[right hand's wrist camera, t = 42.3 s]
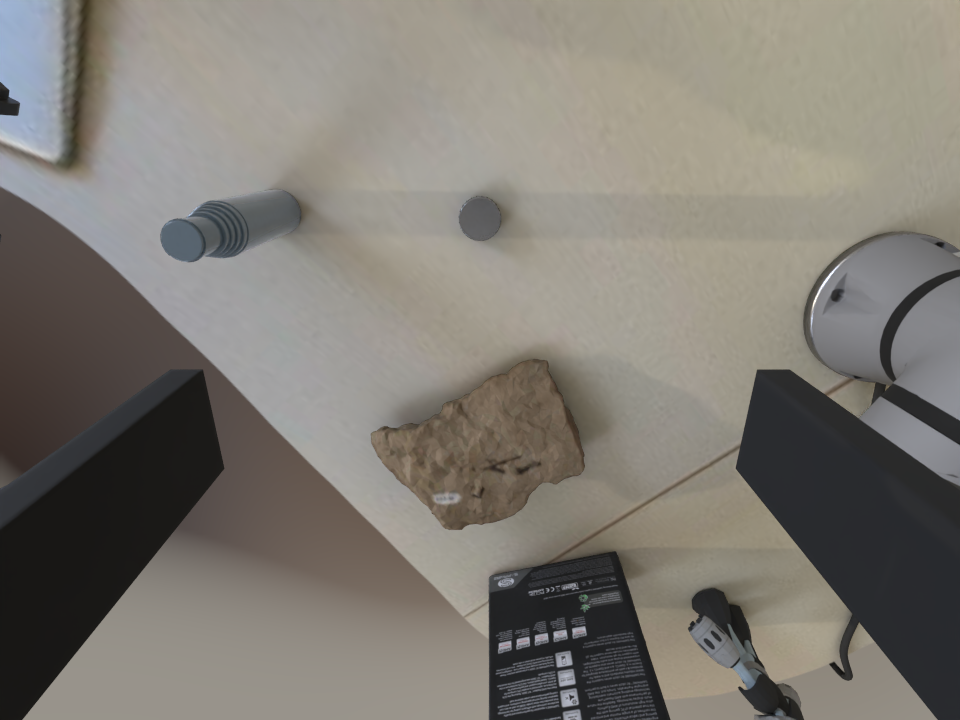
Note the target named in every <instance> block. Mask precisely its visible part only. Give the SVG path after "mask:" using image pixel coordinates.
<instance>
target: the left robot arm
mask: <svg viewBox="0 0 960 720" xmlns="http://www.w3.org/2000/svg"><path fill="white" fill-rule="evenodd" d="M19 106H20V103H19V102H18V101H16V100H14V99H12V98H10V97H9V90H8V89H7V88H6V87H5V86H4V85H3V84H2V83H1V82H0V115H14V116H18V113H19ZM0 240H1V234H0Z"/></svg>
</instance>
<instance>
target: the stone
mask: <svg viewBox="0 0 960 720" xmlns="http://www.w3.org/2000/svg"><path fill="white" fill-rule="evenodd" d="M548 367H549V365H548V362H547V361H545V360H538V359H533V360H532V361H531V360H527V361H525V362H521V363H519V364H517V365H516V366H515V367H513V368H512V369H511V370H510V371H509V372H508V373H507V374H500V375H497V376H493V377H491V378H489V379H488V380H486V381H485V382H484V383H483V384H482V386H480V387H478V388H477V389H475V390H474V391H472V392H471V394H466V395H465V396H463V397H462V398H460V399H456V400H454V401H450V402H446V403H445V404H444V405H443V409H442V411H441V412H440V414H436V415H434V416H433V417H432V418H430V419H428V420H425V421H424V422H422V423H421V424H420V425H417V424H412V423H410V424H405V425H402V426H400V427H398V428H390V427H388V426H384V427H381V428H380V429H378V430H377V431H374V432H373V433H371V442H372V445H373V447H374V449H375V451H376V453H377V455H378V457H379V458H380V459H381V460H382V462H383V464H384V465H385V466H386V467H387V468H388V469H389V470H390V471H391V472H392V473H393V474H394V475H395V476H396V478H397V479H398V480H399V481H400V482H401V483H402V484H404V485H405V486H407V487H408V488H409V489H410V490H411V491H412V492H413V493H415V495H416V496H417V497H418V498H419V499H420V500H421V501H422V502H423V503H424V504H425V505H427V506H428V507H429V509H430V510H431V511H432V514H434V515H435V517H436V518H437V519H438V520H439V522H440V523H441V525H442V526H443V527H444V528H445V529H449V530H462V529H463V528H464V527H465V526H467V525H469V524H480V525H482V524H484V523H493V522H496V521H500V520H502V519H505V518H508V517H510V516H512V515H514V514H515V513H516V512H518V511H519V510H521V509H522V508H523V507H524V506H525V504H526V503H527V500H528V497H529V495H530V494H531V493H532V491H534V490H535V489H536V488H537V487H538V486H539V485H540V484H541V483H543V482H549V483H553V484H557V483H559V482H560V481H562V480H563V479H565V478H569V477H571V476H578V475H580V474H581V473H582V472H583V470H584V467H585V465H584V458H583V457H584V452H583V449H582V446H581V443H580V438H579V432H578V429H577V427H576V424H575V422H574V420H573V416H572V415H571V413H570V410H568V409H567V408H566V407H565V406H564V401H563V396H562V395H561V393H560V392H559V391H558V389H557V386H556V384H555V382H554V381H553V380H552V377H551V375H550V373H549V372H548Z"/></svg>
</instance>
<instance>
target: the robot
mask: <svg viewBox="0 0 960 720" xmlns="http://www.w3.org/2000/svg"><path fill="white" fill-rule="evenodd" d="M692 607H693V610H695V611H696V613H698V614H700V615H699V617H700V618H698V619H697V620H696V623H694V622H693V621H692V622H691V624H690V627H689V628H688V630H689V632H690V634H691V635H692V637H693V639H694V640H695V641H696V643H697V644H698V645H699V646H700V647H701V648H702V649H703V650H704V651H705V652H706V653H707V654H708V656H710V657H711V658H712V659H713V660H715V661H716V662H717V663H718V664H720V665H722V666H724V667H726V668H733V669H734V670H735V671H736V672H737V673H738V674H739V676H740V677H741V679H742V681H743V683H745V685H746V687H747V689H748V690H744V689H743V688H741V687H740V686H739V687H738V689H739V690H740V691H741V693H742V694H743V695H744V696H745V698H746V699H747V700H748V701H749V702H750V703H751V704H752V705H753V706H754V709H756V710H758V711H760V712H761V713H763V714H765V715H755V716H754V720H804V719H803V716H802V713H801V710H800V707H801V701H800V698H799V696H798V694H797V692H796V691H795V690H794V689H793V688H792V687H791V686H789V685H786V684H784V683H782V684H775V683H774V682H773V681H772V680H771V679H770V678H769V676H768V674H767V672H766V671H765V668H764V666H763V664H762V663H761V661H760V660H759V659H758V656H757V654H756V652H755V650H754V648H753V645H752V641H751V634H750V629H749V626H748V623H747V621H746V619H745V617H744V614H743V612H742V610H741V608H740V606H734V605H729V604H728V601H727V600H726V597H725V595H724V593H723V592H722V591H719V590H717V589H710V590H705V591H701V592H700V593H698V594H696V595H695V597H694V598H693V599H692Z"/></svg>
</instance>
